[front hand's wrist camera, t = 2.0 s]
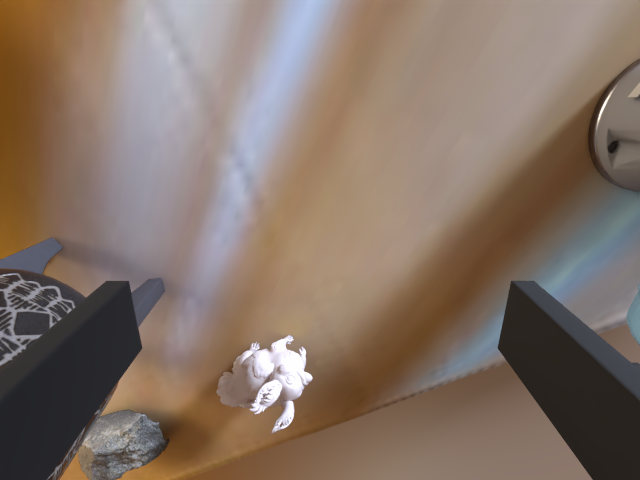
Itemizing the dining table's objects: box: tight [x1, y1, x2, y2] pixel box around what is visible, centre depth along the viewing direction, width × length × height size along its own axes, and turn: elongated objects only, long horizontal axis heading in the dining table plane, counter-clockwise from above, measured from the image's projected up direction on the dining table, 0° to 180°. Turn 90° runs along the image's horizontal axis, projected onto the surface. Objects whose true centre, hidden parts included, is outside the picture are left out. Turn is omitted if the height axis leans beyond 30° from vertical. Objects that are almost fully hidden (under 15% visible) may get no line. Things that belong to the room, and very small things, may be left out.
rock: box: [78, 410, 169, 480], centre depth 54 cm, size 13×9×6 cm, turn 111°
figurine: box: [216, 335, 312, 434], centre depth 47 cm, size 8×15×13 cm, turn 126°
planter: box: [0, 238, 165, 480], centre depth 36 cm, size 20×20×26 cm
